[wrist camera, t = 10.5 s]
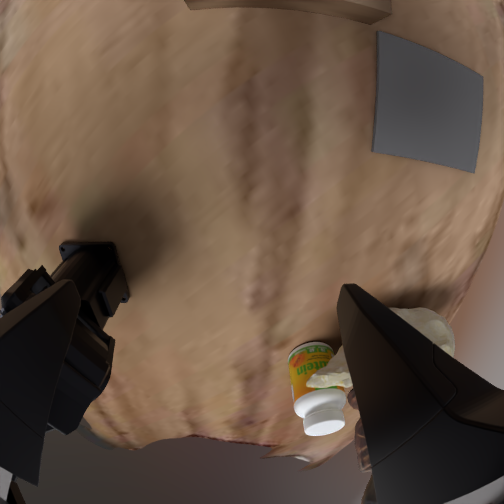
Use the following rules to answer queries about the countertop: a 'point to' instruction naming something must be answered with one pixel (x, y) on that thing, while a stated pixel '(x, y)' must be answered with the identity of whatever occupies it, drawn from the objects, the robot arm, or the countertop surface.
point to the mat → (426, 105)
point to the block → (310, 7)
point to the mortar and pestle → (362, 454)
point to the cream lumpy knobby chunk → (417, 317)
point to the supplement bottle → (315, 390)
